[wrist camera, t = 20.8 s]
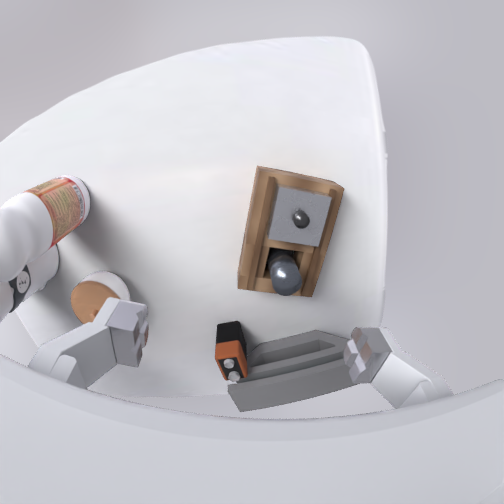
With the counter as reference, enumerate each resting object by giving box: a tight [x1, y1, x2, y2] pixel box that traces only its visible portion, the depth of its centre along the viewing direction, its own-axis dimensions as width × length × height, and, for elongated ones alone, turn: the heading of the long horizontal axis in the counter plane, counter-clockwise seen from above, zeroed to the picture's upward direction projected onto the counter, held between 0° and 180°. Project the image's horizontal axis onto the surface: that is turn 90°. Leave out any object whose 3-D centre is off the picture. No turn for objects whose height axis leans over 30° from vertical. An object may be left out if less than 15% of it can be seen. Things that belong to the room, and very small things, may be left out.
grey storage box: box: [228, 330, 360, 412], centre depth 51 cm, size 25×8×11 cm, turn 105°
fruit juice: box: [0, 175, 90, 282], centre depth 27 cm, size 9×9×28 cm
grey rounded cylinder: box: [267, 247, 302, 296], centre depth 41 cm, size 4×4×10 cm
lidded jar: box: [71, 271, 130, 324], centre depth 43 cm, size 11×11×9 cm
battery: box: [215, 321, 248, 382], centre depth 48 cm, size 4×7×10 cm, turn 12°
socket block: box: [238, 166, 344, 297], centre depth 41 cm, size 12×18×6 cm, turn 170°
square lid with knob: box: [267, 183, 332, 247], centre depth 36 cm, size 7×7×4 cm
